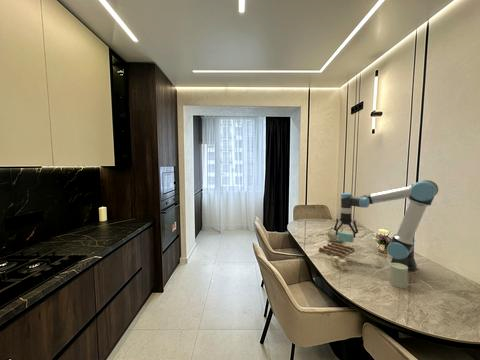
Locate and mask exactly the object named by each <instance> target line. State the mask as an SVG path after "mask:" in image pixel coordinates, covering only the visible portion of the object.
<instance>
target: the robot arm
mask: <svg viewBox="0 0 480 360" xmlns="http://www.w3.org/2000/svg"><path fill="white" fill-rule="evenodd" d="M438 193H439V186H438V185H437V183H436V182H434V181H432V180H428V179H427V180H426V179H425V180H419V181H417V182H415V183H411V184H410V185H409V186H404V187H400V188H399V187H398V188H396V189H395V188H394V189H389V190H384V191H379V192H376V193H370V194H363V195H361V196H355V195H352V193H349V192H342V193H341V196H340V212H341V213H340V218H336V222H335V225H334V230H335V231H336V235H338V236H339V231H338V230H341V229H340V228H341V227H342V226H343V225H347V226H349V228H350V230H351V231H352V234H353V239H352V243H354V242H355V238H356V234H359V230H358V227H357V221H356V219H352V207H357V208H358V207H359V208H365V209H366V208H369V206H370V205H372V204H373V205H374V204H379V203H380V204H381V203H384V202H392V201H398V200H403V199H408V200H409V203H408V205H407V209H406V211H405V213H404V216H403V218H402V220H401V222H400V225H399V227H398V230H397V232H396V233H394V234H393V236H392V238H391V240H390V242H389V243H388V244H387V248H386V250H387V253H388V254H389V256H391V260H390V263H400V264H403V265H406V266H407V267H408V272H413V271H416V270H417V269H418V265H417V261H416V260H415V237H414V236H415V234H416V232H417V229H418V227H419V225H420V224H421V223H420V222H421V220H422V218H423V216H424V213H425V211H426V210H427V208H428V207H429V206H432V203H433V201H434V199H435V197H436V196H437V195H438ZM339 222H340V224H339ZM352 223H353V224H352ZM338 224H339V226H338ZM337 226H338V227H337ZM353 226H354V227H353ZM336 227H337V229H336Z"/></svg>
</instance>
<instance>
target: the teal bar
mask: <svg viewBox="0 0 480 360" xmlns="http://www.w3.org/2000/svg"><path fill="white" fill-rule="evenodd" d="M352 239H353V233H350V232H343V231H342V232H339V236H338V240H339V241H340V242H346V243H353V242H352Z"/></svg>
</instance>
